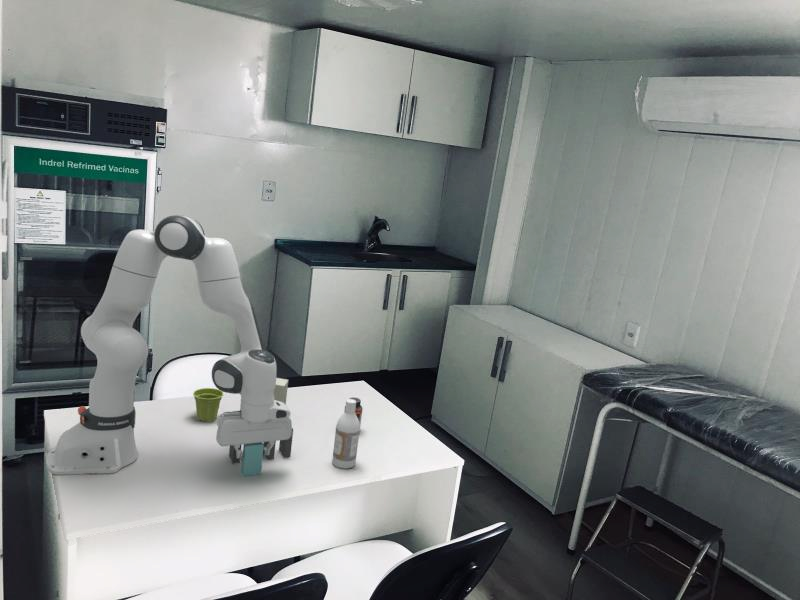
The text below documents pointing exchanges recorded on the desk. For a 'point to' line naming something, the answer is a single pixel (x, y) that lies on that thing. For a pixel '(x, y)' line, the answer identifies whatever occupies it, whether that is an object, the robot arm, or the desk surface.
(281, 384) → the skincare box
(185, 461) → the desk surface
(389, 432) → the desk surface
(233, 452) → the domino
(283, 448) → the domino
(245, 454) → the domino
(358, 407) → the supplement bottle
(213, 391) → the plant pot
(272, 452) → the domino
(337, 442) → the bath foam
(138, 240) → the robot arm
